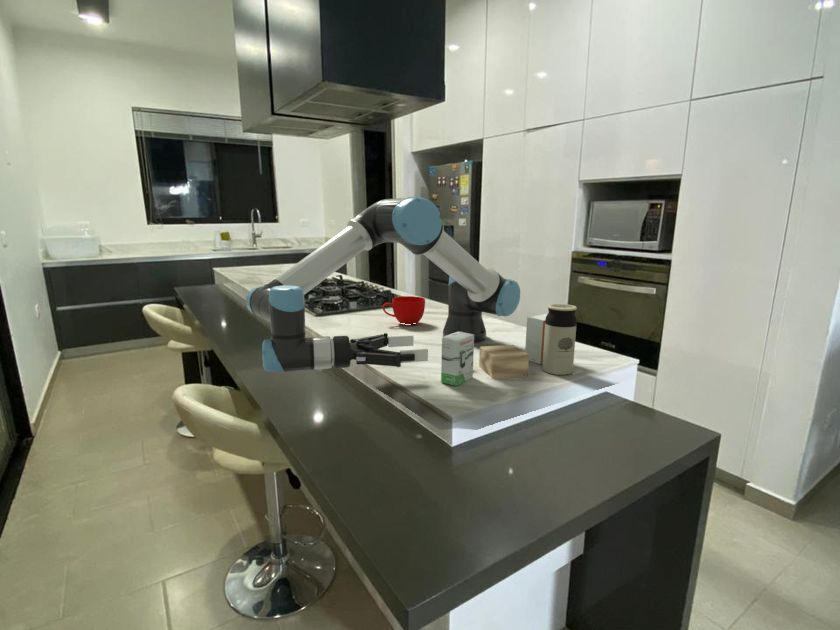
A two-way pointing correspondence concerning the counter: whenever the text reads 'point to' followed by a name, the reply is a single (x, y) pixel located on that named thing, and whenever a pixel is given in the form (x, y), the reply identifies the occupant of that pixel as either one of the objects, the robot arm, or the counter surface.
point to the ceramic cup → (407, 309)
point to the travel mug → (559, 339)
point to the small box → (535, 338)
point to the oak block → (503, 361)
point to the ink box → (457, 358)
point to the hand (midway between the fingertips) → (420, 347)
